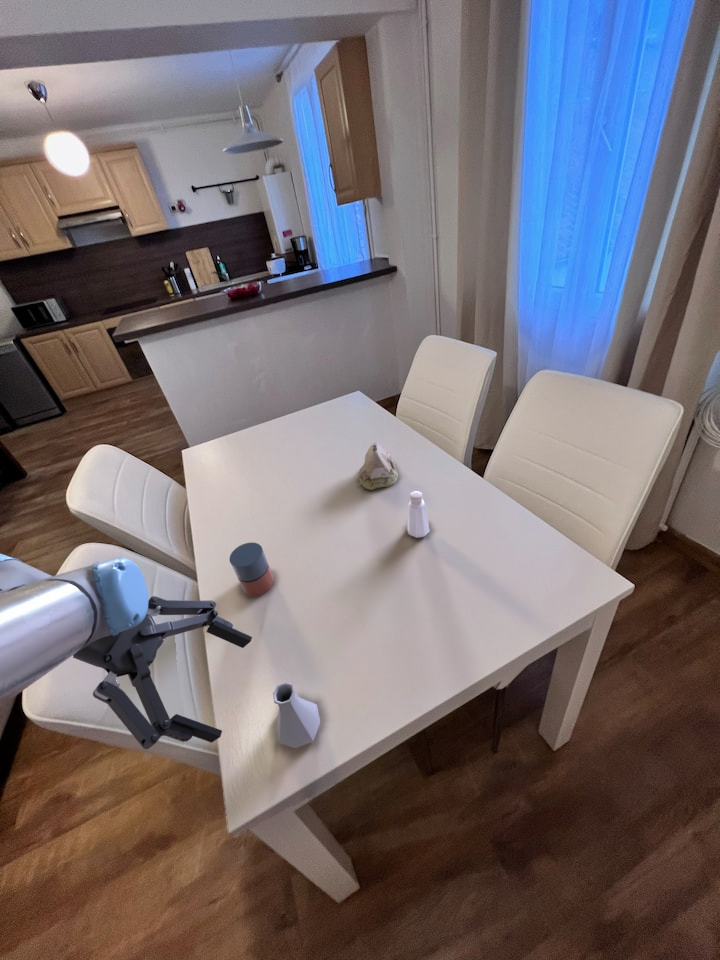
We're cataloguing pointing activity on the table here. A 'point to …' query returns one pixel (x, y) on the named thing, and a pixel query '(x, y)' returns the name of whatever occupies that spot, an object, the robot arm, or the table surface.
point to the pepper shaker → (417, 516)
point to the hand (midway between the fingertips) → (234, 685)
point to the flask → (295, 717)
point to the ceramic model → (377, 468)
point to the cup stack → (252, 569)
